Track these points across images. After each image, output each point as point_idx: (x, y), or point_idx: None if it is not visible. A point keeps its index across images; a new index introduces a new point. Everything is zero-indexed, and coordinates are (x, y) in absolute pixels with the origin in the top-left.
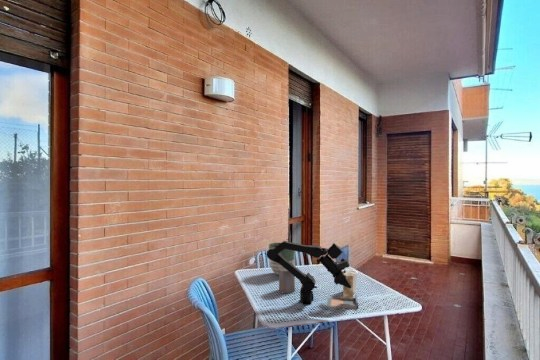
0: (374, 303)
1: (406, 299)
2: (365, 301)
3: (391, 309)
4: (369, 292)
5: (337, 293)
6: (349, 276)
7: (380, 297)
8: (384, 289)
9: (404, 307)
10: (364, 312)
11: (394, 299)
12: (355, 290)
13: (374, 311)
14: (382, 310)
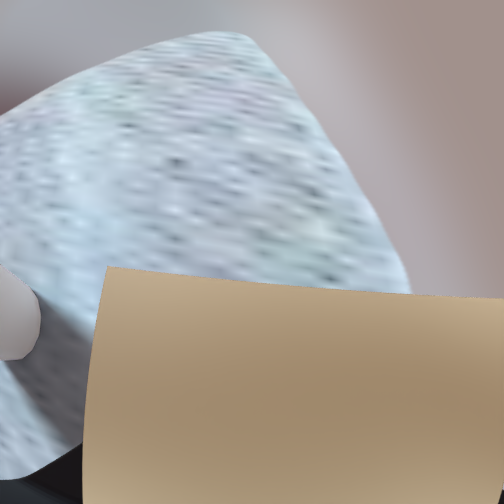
0: (202, 180)
1: (150, 49)
2: (161, 235)
3: (300, 113)
4: (20, 188)
5: (16, 412)
6: (500, 435)
7: (100, 137)
8: (13, 120)
9: (258, 62)
10: (392, 280)
11: (142, 82)
12: (13, 274)
13: (359, 209)
14: (329, 158)
